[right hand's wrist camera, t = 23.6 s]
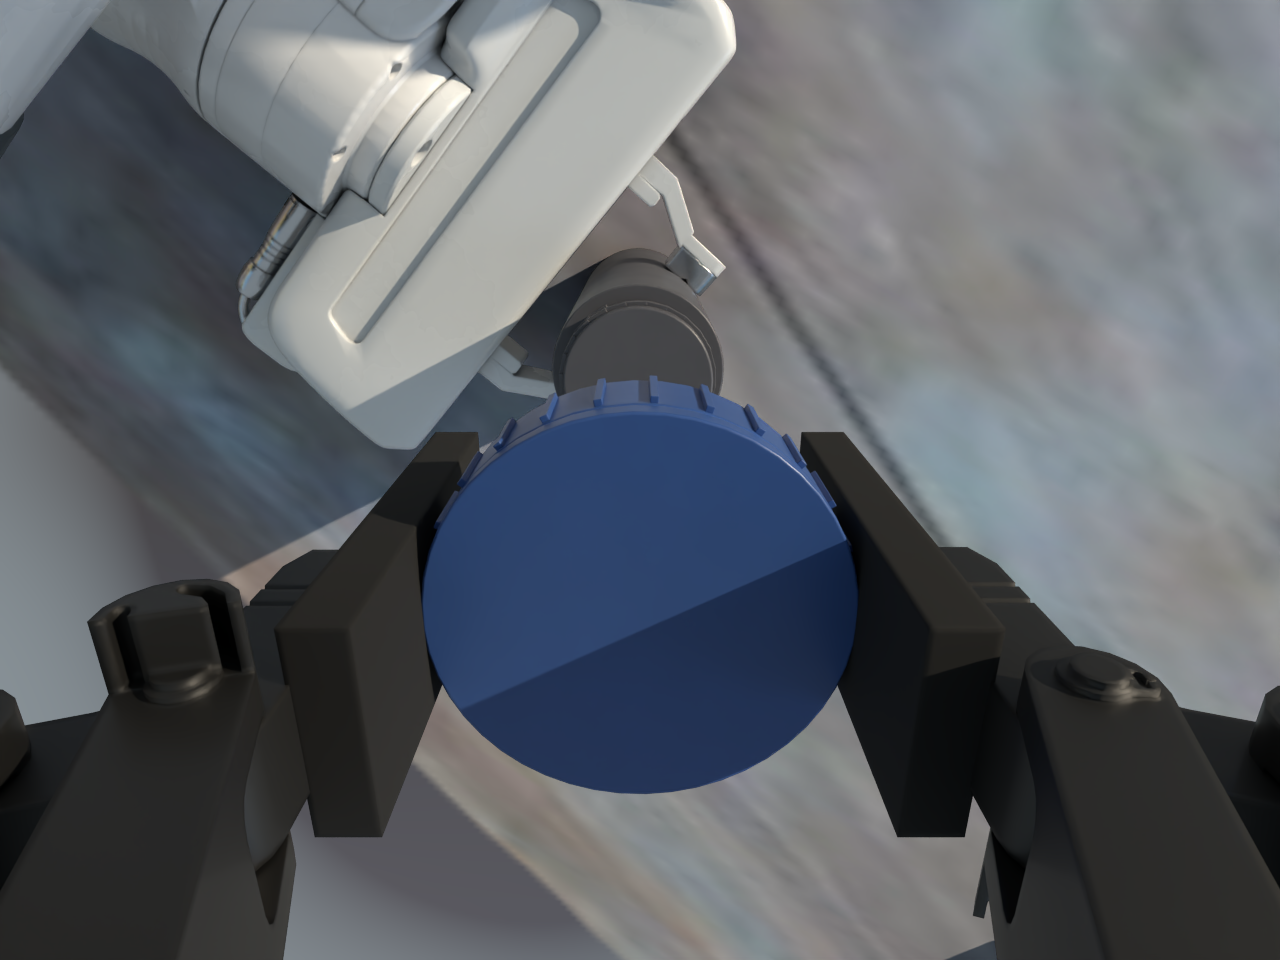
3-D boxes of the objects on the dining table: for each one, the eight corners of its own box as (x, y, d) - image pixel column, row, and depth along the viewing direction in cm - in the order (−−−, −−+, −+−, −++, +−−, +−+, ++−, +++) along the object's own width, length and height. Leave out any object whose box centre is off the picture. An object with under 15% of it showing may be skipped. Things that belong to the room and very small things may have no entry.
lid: (750, 303, 10) (769, 325, 9) (884, 649, 12) (921, 716, 11) (370, 473, 11) (328, 518, 10) (553, 770, 13) (541, 848, 12)
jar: (694, 246, 35) (730, 287, 21) (694, 360, 37) (727, 466, 23) (579, 249, 35) (540, 293, 21) (584, 363, 37) (553, 470, 23)
